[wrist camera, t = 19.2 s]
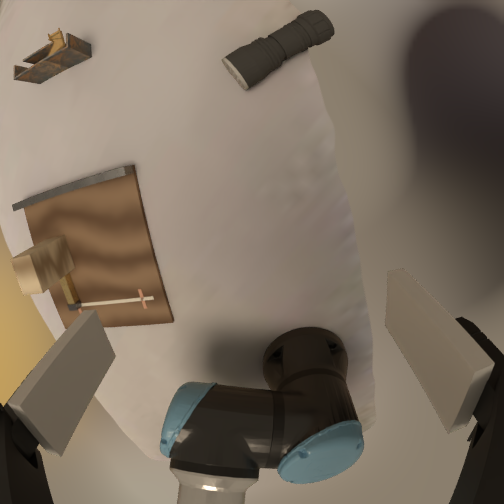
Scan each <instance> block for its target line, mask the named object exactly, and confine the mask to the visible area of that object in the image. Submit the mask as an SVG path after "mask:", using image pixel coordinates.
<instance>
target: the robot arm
mask: <svg viewBox="0 0 504 504" xmlns="http://www.w3.org/2000/svg"><path fill="white" fill-rule="evenodd" d="M387 281H388V282H387V304H386V319H385V326H386V328H387V329H388V331H389V333H390V334H391V336H392V337H393V339H394V341H395V342H396V344H397V345H398V347H399V349H400V350H401V352H402V353H403V355H404V357H405V358H406V360H407V362H408V363H409V365H410V367H411V368H412V370H413V372H414V374H415V375H416V377H417V379H418V380H419V382H420V384H421V386H422V387H423V389H424V391H425V392H426V394H427V396H428V398H429V400H430V401H431V403H432V405H433V407H434V409H435V410H436V412H437V414H438V416H439V418H440V420H441V422H442V423H443V425H444V427H445V429H446V431H447V433H448V434H449V433H452V432H454V431H456V430H459V429H461V428H463V427H465V426H467V424H468V423H469V421H470V419H471V417H472V415H474V417H475V418H476V420H477V421H478V422H477V424H476V425H475V427H474V429H473V431H472V432H471V434H470V436H469V438H468V440H467V441H470V440H471V443H470V446H469V450H468V453H467V456H466V459H465V463H464V466H463V469H462V471H461V474H460V477H459V480H458V483H457V485H456V488H455V490H454V493H453V496H452V498H451V500H450V502H449V504H504V355H503V354H502V353H501V351H500V350H499V349H498V348H497V347H496V346H495V345H494V344H493V343H492V342H491V341H490V340H489V339H487V337H486V335H485V334H483V332H481V331H480V329H479V328H478V327H477V326H476V325H475V324H474V323H473V322H471V321H469V320H467V319H465V318H463V317H460V318H456V319H454V318H453V317H452V316H451V315H450V314H449V312H448V311H447V310H446V309H444V307H442V305H441V304H439V303H438V301H437V300H436V299H435V298H434V297H433V296H432V295H431V294H429V292H427V290H425V289H424V288H423V287H422V286H421V285H420V284H419V283H418V282H417V281H416V280H415V279H414V278H413V277H412V276H411V275H410V274H409V273H408V272H407V271H405V269H403V268H402V269H397V270H392V271H388V279H387ZM115 357H116V355H115V353H114V351H113V349H112V347H111V344H110V342H109V340H108V338H107V335H106V333H105V331H104V328H103V326H102V324H101V321H100V319H99V316H98V314H97V311H96V310H84V311H83V312H82V313H81V314H80V315H79V316H78V317H77V318H76V320H75V321H74V322H73V323H72V324H71V325H70V326H69V327H68V329H67V330H66V331H65V332H64V333H63V334H62V335H61V337H60V338H59V339H58V340H57V341H56V342H55V344H54V345H53V346H52V347H51V348H50V349H49V351H48V352H47V353H46V354H45V355H44V357H43V358H42V359H41V360H40V361H39V363H38V364H37V365H36V366H35V368H34V369H33V370H32V371H31V372H30V373H29V374H28V376H27V377H26V379H25V380H24V381H23V382H22V383H21V385H20V386H19V387H18V388H17V390H16V391H15V392H14V393H13V395H12V396H11V397H10V399H9V400H8V402H7V403H6V404H5V405H4V407H3V406H2V404H1V403H0V504H54V503H53V500H52V496H51V493H50V489H49V486H48V482H47V478H46V474H45V470H44V465H43V461H42V456H41V453H40V451H39V450H38V449H37V446H38V444H39V443H40V445H41V446H42V447H43V448H44V449H45V450H46V451H47V452H48V453H51V454H54V455H57V456H60V457H61V456H62V455H63V452H64V450H65V448H66V446H67V445H68V443H69V441H70V439H71V437H72V435H73V433H74V431H75V429H76V427H77V425H78V423H79V421H80V419H81V418H82V416H83V414H84V412H85V410H86V408H87V406H88V404H89V403H90V401H91V399H92V397H93V396H94V394H95V392H96V390H97V388H98V387H99V385H100V383H101V381H102V380H103V378H104V376H105V374H106V373H107V371H108V369H109V367H110V366H111V364H112V362H113V361H114V359H115ZM347 366H348V357H347V353H346V350H345V347H344V345H343V343H342V341H341V340H340V339H339V338H338V337H337V336H336V335H335V334H333V333H332V332H330V331H327V330H324V329H320V328H300V329H296V330H292V331H290V332H287V333H285V334H283V335H282V336H280V337H278V338H277V339H276V340H275V341H274V342H272V344H271V345H270V346H269V347H268V349H267V350H266V352H265V355H264V358H263V374H264V378H265V380H266V382H267V384H268V386H269V388H270V389H271V390H263V389H252V388H242V387H234V386H225V385H218V384H217V383H211V384H210V383H200V382H187V383H185V384H183V385H182V386H181V387H180V388H179V389H178V390H177V392H176V393H175V395H174V397H173V399H172V401H171V403H170V406H169V408H168V411H167V414H166V417H165V421H164V424H163V428H162V433H161V436H162V438H161V442H160V451H161V453H162V454H163V455H165V456H166V457H168V458H171V462H170V470H171V472H172V473H173V474H174V475H175V477H176V478H177V479H178V481H179V483H180V484H179V492H178V500H177V504H244V502H245V492H246V490H247V489H248V488H249V487H250V486H252V485H253V484H254V483H256V482H257V481H258V477H259V469H260V468H272V469H278V470H277V471H278V474H279V475H280V477H281V478H282V479H283V480H285V481H287V482H288V481H290V482H291V483H295V484H305V483H313V482H318V481H322V480H325V479H328V478H331V477H333V476H336V475H337V474H339V473H341V472H343V471H345V470H346V469H348V468H349V467H351V466H352V465H353V464H354V463H355V462H356V461H357V460H358V459H359V457H360V456H361V454H362V452H363V449H364V440H363V435H362V426H361V423H360V422H359V420H358V417H357V414H356V411H355V408H354V405H353V402H352V399H351V396H350V393H349V390H348V387H347V384H346V375H347ZM471 438H472V439H471Z"/></svg>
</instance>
